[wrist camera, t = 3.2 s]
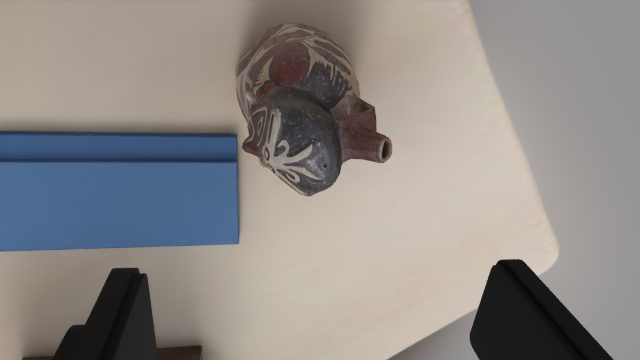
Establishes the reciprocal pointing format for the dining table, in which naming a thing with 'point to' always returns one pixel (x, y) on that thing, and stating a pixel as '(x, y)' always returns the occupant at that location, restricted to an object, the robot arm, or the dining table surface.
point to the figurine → (305, 108)
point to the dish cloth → (117, 190)
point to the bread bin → (164, 354)
